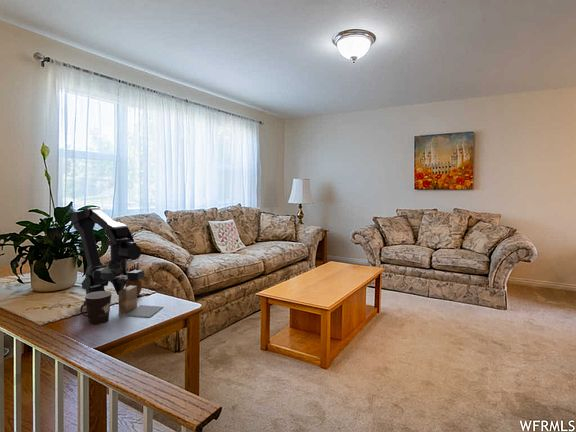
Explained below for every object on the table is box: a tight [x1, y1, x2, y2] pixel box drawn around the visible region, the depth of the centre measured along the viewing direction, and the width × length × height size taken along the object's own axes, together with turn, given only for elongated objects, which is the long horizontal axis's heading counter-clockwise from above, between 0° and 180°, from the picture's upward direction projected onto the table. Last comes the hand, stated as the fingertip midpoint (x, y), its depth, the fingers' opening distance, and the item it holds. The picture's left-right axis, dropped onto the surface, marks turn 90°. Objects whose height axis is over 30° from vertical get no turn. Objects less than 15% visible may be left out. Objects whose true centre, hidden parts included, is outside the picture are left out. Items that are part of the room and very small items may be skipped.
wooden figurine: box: [124, 262, 143, 296], centre depth 157 cm, size 7×6×15 cm
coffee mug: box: [79, 290, 112, 326], centre depth 126 cm, size 12×9×10 cm
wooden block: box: [118, 286, 138, 315], centre depth 139 cm, size 3×8×9 cm, turn 174°
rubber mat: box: [124, 304, 164, 319], centre depth 138 cm, size 10×11×1 cm
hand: (119, 295), depth 139 cm, fingers closed
